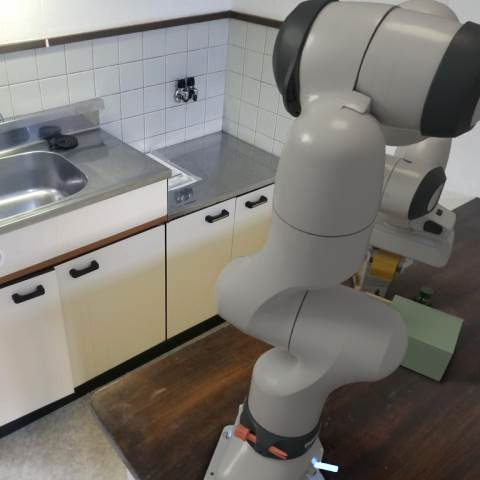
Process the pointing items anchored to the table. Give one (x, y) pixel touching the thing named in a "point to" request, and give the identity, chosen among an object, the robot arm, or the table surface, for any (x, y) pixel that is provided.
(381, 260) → the block
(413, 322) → the cabinet
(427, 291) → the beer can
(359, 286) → the drawer
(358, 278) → the coffee box
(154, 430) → the table surface
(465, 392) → the table surface
